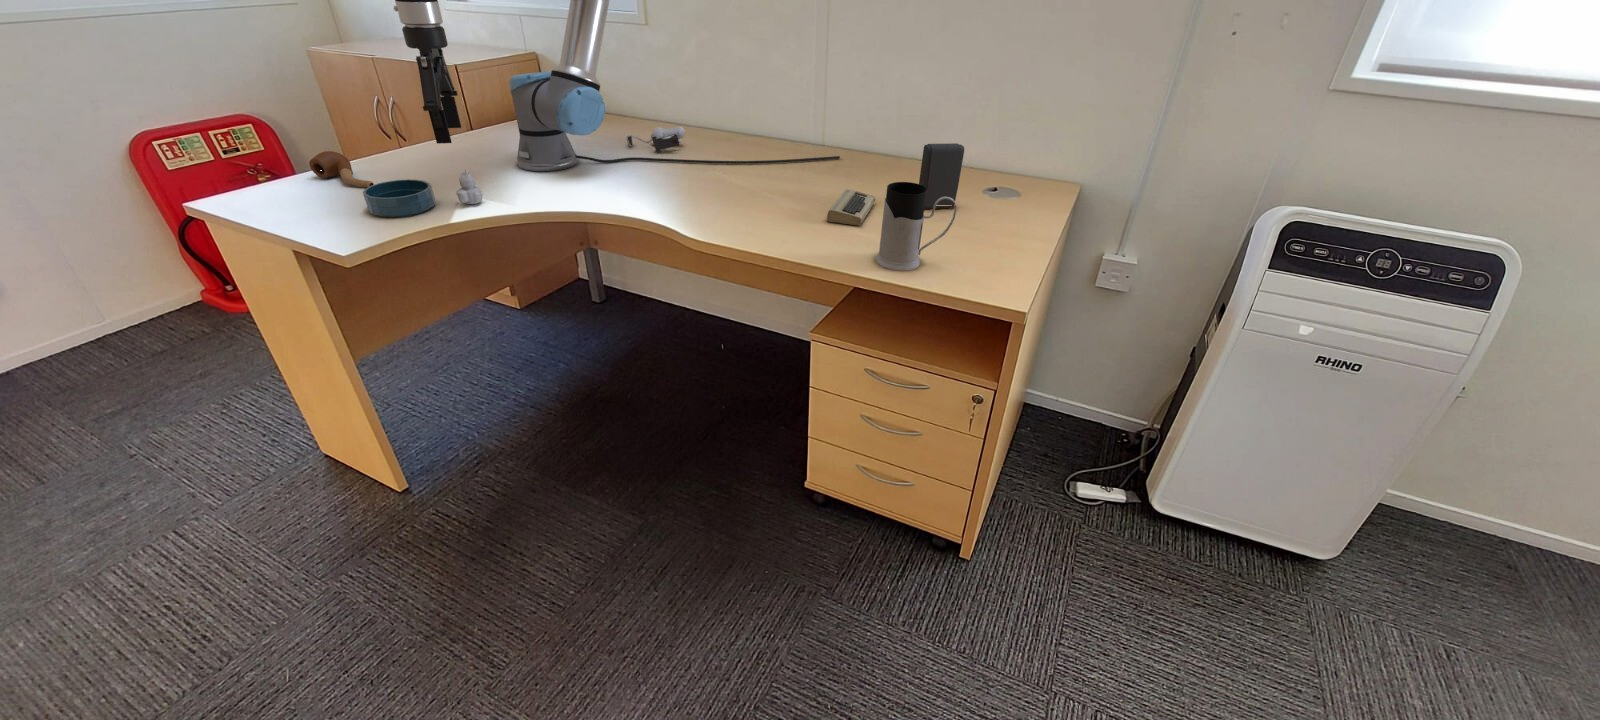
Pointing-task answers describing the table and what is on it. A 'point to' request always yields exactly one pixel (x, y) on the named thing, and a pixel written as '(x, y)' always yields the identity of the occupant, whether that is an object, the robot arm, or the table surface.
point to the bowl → (399, 198)
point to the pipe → (335, 168)
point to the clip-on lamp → (663, 138)
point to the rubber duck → (468, 190)
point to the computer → (851, 207)
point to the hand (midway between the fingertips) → (449, 135)
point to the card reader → (941, 173)
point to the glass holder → (904, 226)
